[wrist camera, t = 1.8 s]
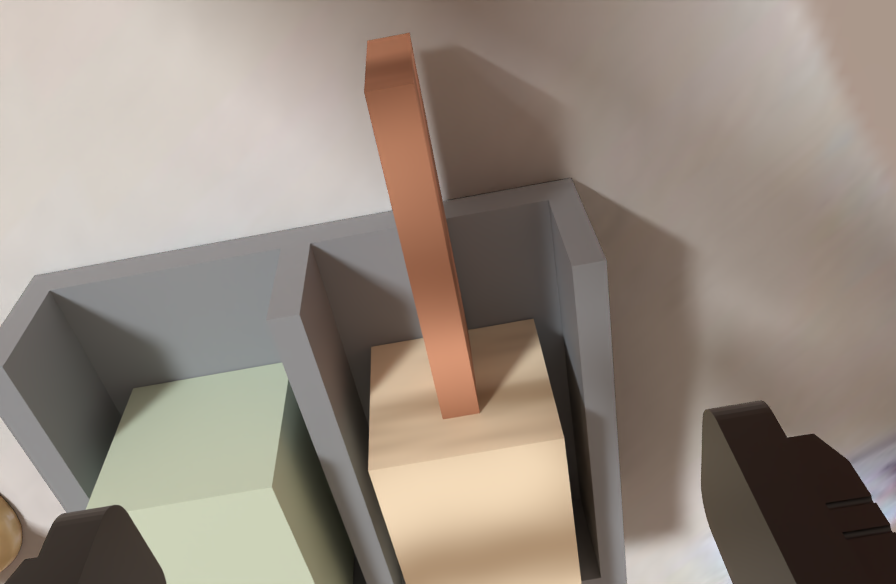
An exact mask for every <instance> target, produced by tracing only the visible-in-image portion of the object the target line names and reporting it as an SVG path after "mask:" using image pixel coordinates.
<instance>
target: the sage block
mask: <svg viewBox="0 0 896 584" xmlns="http://www.w3.org/2000/svg"><path fill="white" fill-rule="evenodd" d="M111 505H120V506H122V507H123V508H124V509H125V510H126V511H127V513H128V514H129V516H130V517H131V519H132V521H133V522H134V524H135V525H136V527H137V529H138V530H139V532H140V534H141V535H142V537H143V539H144V540H145V542H146V543H147V545H148V547H149V548H150V550H151V552H152V553H153V555H154V556H155V558H156V560H157V561H158V563H159V565H160V566H161V568H162V570H163V572H164V575H165V579H166V584H353V572H354V549H353V547H352V544H351V542H350V539H349V536H348V534H347V531H346V528H345V526H344V523H343V521H342V518H341V515H340V513H339V510H338V508H337V505H336V502H335V500H334V497H333V494H332V492H331V489H330V487H329V484H328V481H327V479H326V476H325V474H324V471H323V468H322V466H321V463H320V461H319V458H318V455H317V453H316V450H315V447H314V445H313V442H312V440H311V437H310V434H309V432H308V429H307V427H306V424H305V421H304V419H303V416H302V413H301V411H300V408H299V406H298V403H297V400H296V398H295V395H294V393H293V390H292V387H291V385H290V382H289V379H288V377H287V374H286V372H285V369H284V366H283V364H282V363H276V364H270V365H264V366H259V367H253V368H247V369H241V370H236V371H230V372H224V373H218V374H213V375H207V376H201V377H196V378H190V379H184V380H178V381H173V382H167V383H161V384H155V385H150V386H144V387H138V388H133V390H132V393H131V395H130V398H129V400H128V403H127V405H126V408H125V410H124V413H123V416H122V418H121V421H120V423H119V426H118V428H117V431H116V433H115V436H114V439H113V441H112V444H111V446H110V449H109V451H108V454H107V456H106V459H105V461H104V464H103V467H102V469H101V472H100V474H99V477H98V479H97V482H96V484H95V487H94V490H93V492H92V495H91V497H90V500H89V502H88V505H87V507H86V510H87V509H93V508H99V507H105V506H111Z"/></svg>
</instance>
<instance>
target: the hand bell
mask: <svg viewBox="0 0 896 584" xmlns="http://www.w3.org/2000/svg"><path fill="white" fill-rule="evenodd" d="M21 544H22V527H21V524H20V521H19V520H18V518H17V516H16V513H15V512H14V510H13V509H12V508H11V507H10V505H9V504H8V503H7V502H6V501H5V500H4V499H3V498H2V497H1V496H0V572H1V571H3V570H4V569H5V568H6V567H7V566H9V565H10V564H11V563H12V561H13V560H14V559H15V558H16V556H17V554H18V552H19V550H20V547H21Z"/></svg>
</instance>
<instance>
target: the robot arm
mask: <svg viewBox="0 0 896 584" xmlns="http://www.w3.org/2000/svg"><path fill="white" fill-rule="evenodd" d="M701 492H702V499H703V504H704V509H705V513H706V517H707V520H708V524H709V527H710V529H711V532H712V534H713V537H714V539H715V542H716V544H717V547H718V549H719V551H720V554H721V556H722V559H723V561H724V564H725V566H726V568H727V571H728V573H729V576H730V578H731V581H732V583H733V584H896V533H895V532H894V533H893V532H892V531H891V528H890V524H889V522H888V520H887V519H886V517H885V516H884V514H883V513H882V511H881V510H880V508H879V507H878V505H877V503H873V501H872V498H871V494H870V493H869V491H868V490H867V488H866V486H865V485H864V483H863V482H862V480H861V479H860V477H859V476H858V474H857V473H856V471H855V469H854V468H853V466H852V465H851V463H850V462H849V461H848V460H847V459H846V458H845V457H843V456H842V455H841V454H839V453H838V452H837V451H835V450H834V449H833V448H832V447H830V446H829V445H828V444H826V443H825V442H824V441H822V440H821V439H820V438H818V437H817V436H816V435H815V434H808V435H802V436H795V437H789V438H787V436H786V435H785V433H784V431H783V430H782V428H781V426H780V424H779V423H778V421H777V419H776V417H775V416H774V414H773V412H772V411H771V409H770V408H769V406H768V405H767V404H766V403H765V402H764V401H755V402H749V403H743V404H737V405H731V406H725V407H719V408H712V409H706V410H705V411H704V414H703V424H702V463H701ZM5 584H166V579H165V575H164V572H163V570H162V568H161V566H160V565H159V563H158V561H157V560H156V558H155V556H154V555H153V553H152V552H151V550H150V548H149V547H148V545H147V543H146V542H145V540H144V539H143V537H142V535H141V534H140V532H139V530H138V529H137V527H136V525H135V524H134V522H133V521H132V519H131V517H130V516H129V514H128V513H127V511H126V510H125V509H124V508H123V507H122V506H120V505H111V506H105V507H99V508H93V509H87V510H81V511H75V512H69V513H63V514H61V515H60V516H58V517H57V518H56V520H55V521H54V522H53V524H52V526H51V528H50V530H49V533H48V535H47V537H46V540H45V542H44V544H43V546H42V549H41V551H40V553H39V556H38V557H37V558H31V559H25V560H24V561H23V562H22V564H21V565H20V566H19V567H18V568H17V569H16V571H15V572H14V573H13V574H12V575H11V577H10V578H9V579H8V580H7V581H6V583H5Z"/></svg>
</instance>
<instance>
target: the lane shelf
mask: <svg viewBox="0 0 896 584" xmlns="http://www.w3.org/2000/svg"><path fill="white" fill-rule="evenodd" d="M443 206H444V211H445V216H446V221H447V226H448V231H449V237H450V242H451V247H452V252H453V257H454V262H455V267H456V272H457V277H458V282H459V287H460V292H461V298H462V303H463V308H464V313H465V318H466V323H467V328H468V330H471V329H476V328H482V327H488V326H494V325H499V324H505V323H511V322H517V321H522V320H528V319H534V323H535V326H536V330H537V334H538V338H539V342H540V346H541V350H542V354H543V357H544V361H545V365H546V369H547V373H548V377H549V381H550V385H551V389H552V392H553V396H554V400H555V404H556V408H557V412H558V416H559V420H560V424H561V427H562V431H563V435H564V440H565V449H566V457H567V465H568V474H569V482H570V491H571V499H572V508H573V516H574V525H575V533H576V541H577V550H578V558H579V567H580V575H581V584H627V577H626V561H625V545H624V529H623V513H622V497H621V481H620V465H619V449H618V433H617V417H616V401H615V385H614V370H613V354H612V338H611V322H610V306H609V290H608V274H607V260H606V257H605V255H604V253H603V250H602V248H601V246H600V243H599V241H598V239H597V236H596V234H595V232H594V229H593V227H592V225H591V222H590V220H589V218H588V215H587V213H586V211H585V208H584V206H583V204H582V201H581V199H580V197H579V194H578V192H577V190H576V187H575V185H574V183H573V180H572V178H569V179H564V180H558V181H553V182H547V183H542V184H536V185H531V186H525V187H520V188H514V189H509V190H503V191H498V192H492V193H487V194H481V195H476V196H470V197H465V198H459V199H454V200H448V201H443ZM419 338H423V335H422V331H421V327H420V322H419V318H418V314H417V310H416V306H415V302H414V297H413V293H412V289H411V285H410V281H409V277H408V272H407V268H406V264H405V260H404V256H403V252H402V247H401V243H400V239H399V235H398V231H397V227H396V223H395V218H394V214H393V211H388V212H382V213H377V214H371V215H366V216H360V217H355V218H349V219H344V220H338V221H333V222H327V223H322V224H316V225H311V226H305V227H300V228H294V229H289V230H283V231H278V232H272V233H267V234H261V235H256V236H250V237H245V238H239V239H234V240H228V241H223V242H217V243H212V244H206V245H201V246H195V247H190V248H184V249H179V250H173V251H168V252H162V253H157V254H151V255H146V256H140V257H135V258H129V259H124V260H118V261H113V262H107V263H102V264H96V265H91V266H85V267H80V268H74V269H69V270H63V271H58V272H52V273H47V274H41V275H36V276H34V277H33V278H32V280H31V281H30V283H29V284H28V286H27V287H26V289H25V290H24V292H23V294H22V295H21V297H20V298H19V300H18V301H17V303H16V304H15V306H14V307H13V309H12V310H11V312H10V313H9V315H8V316H7V318H6V319H5V321H4V322H3V324H2V325H1V327H0V417H1V418H2V420H3V421H4V423H5V424H6V426H7V427H8V429H9V430H10V431H11V433H12V434H13V436H14V437H15V439H16V440H17V442H18V443H19V444H20V446H21V447H22V449H23V450H24V452H25V453H26V455H27V456H28V457H29V459H30V460H31V462H32V463H33V465H34V466H35V468H36V469H37V470H38V472H39V473H40V475H41V476H42V478H43V479H44V481H45V482H46V483H47V485H48V486H49V488H50V489H51V491H52V492H53V494H54V495H55V497H56V498H57V499H58V501H59V502H60V504H61V505H62V507H63V508H64V510H65V511H66V512H67V513H69V512H75V511H81V510H86V507H87V505H88V502H89V500H90V497H91V495H92V492H93V490H94V487H95V484H96V482H97V479H98V477H99V474H100V472H101V469H102V467H103V464H104V461H105V459H106V456H107V454H108V451H109V449H110V446H111V444H112V441H113V439H114V436H115V433H116V431H117V428H118V426H119V423H120V421H121V418H122V416H123V413H124V410H125V408H126V405H127V403H128V400H129V398H130V395H131V393H132V390H133V388H138V387H144V386H150V385H155V384H161V383H167V382H173V381H178V380H184V379H190V378H196V377H201V376H207V375H213V374H218V373H224V372H230V371H236V370H241V369H247V368H253V367H259V366H264V365H270V364H276V363H282V364H283V366H284V369H285V372H286V374H287V377H288V379H289V382H290V385H291V387H292V390H293V393H294V395H295V398H296V400H297V403H298V406H299V408H300V411H301V413H302V416H303V419H304V421H305V424H306V427H307V429H308V432H309V434H310V437H311V440H312V442H313V445H314V447H315V450H316V453H317V455H318V458H319V461H320V463H321V466H322V468H323V471H324V474H325V476H326V479H327V481H328V484H329V487H330V489H331V492H332V494H333V497H334V500H335V502H336V505H337V508H338V510H339V513H340V515H341V518H342V521H343V523H344V526H345V528H346V531H347V534H348V536H349V539H350V542H351V544H352V547H353V549H354V572H353V584H406V583H405V580H404V577H403V574H402V571H401V568H400V565H399V562H398V559H397V556H396V553H395V550H394V547H393V544H392V541H391V538H390V535H389V532H388V529H387V526H386V523H385V520H384V517H383V514H382V511H381V508H380V505H379V502H378V499H377V496H376V493H375V490H374V487H373V484H372V481H371V478H370V475H369V472H368V459H369V417H370V375H371V347H373V346H379V345H385V344H390V343H396V342H402V341H408V340H413V339H419Z"/></svg>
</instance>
